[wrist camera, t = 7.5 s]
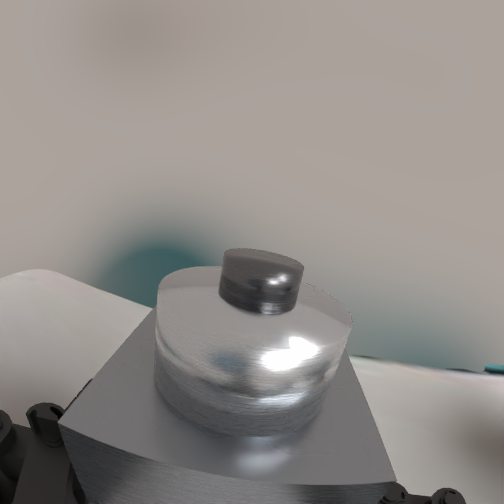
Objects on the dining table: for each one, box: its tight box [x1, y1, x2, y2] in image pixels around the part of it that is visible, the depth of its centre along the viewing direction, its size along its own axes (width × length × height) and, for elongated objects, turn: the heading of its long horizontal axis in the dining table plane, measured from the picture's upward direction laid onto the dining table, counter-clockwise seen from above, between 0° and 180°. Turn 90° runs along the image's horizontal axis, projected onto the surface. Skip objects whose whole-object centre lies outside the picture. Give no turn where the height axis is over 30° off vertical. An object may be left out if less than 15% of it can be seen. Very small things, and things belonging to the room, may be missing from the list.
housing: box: [57, 248, 397, 504], centre depth 8 cm, size 6×6×14 cm
